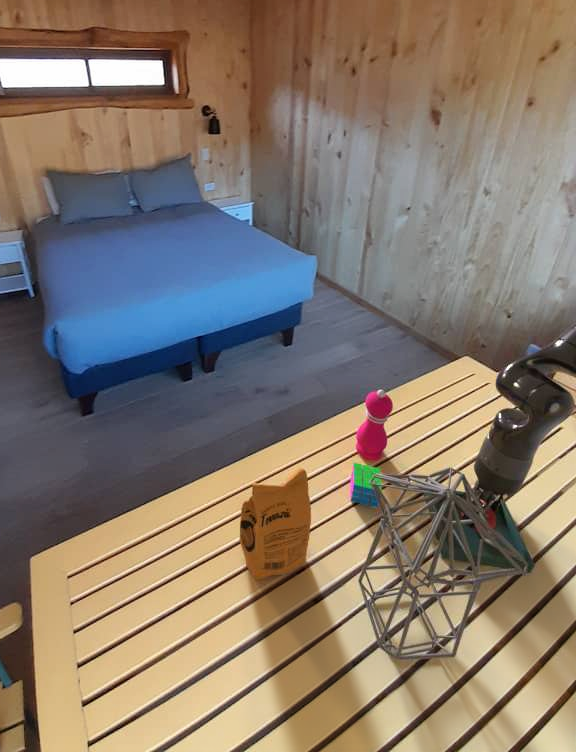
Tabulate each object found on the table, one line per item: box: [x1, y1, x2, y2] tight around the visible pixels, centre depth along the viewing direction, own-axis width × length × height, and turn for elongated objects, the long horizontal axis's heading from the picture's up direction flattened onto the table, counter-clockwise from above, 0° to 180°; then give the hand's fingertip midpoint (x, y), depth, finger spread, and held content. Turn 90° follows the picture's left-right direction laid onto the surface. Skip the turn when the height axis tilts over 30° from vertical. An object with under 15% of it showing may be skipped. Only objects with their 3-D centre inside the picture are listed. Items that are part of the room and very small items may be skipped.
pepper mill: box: [355, 389, 394, 462], centre depth 97 cm, size 7×7×20 cm
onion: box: [462, 499, 496, 532], centre depth 81 cm, size 6×6×8 cm
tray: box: [422, 489, 536, 574], centre depth 83 cm, size 16×14×3 cm
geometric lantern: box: [357, 466, 528, 662], centre depth 62 cm, size 16×16×35 cm
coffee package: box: [239, 467, 312, 581], centre depth 76 cm, size 10×12×22 cm
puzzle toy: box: [350, 462, 383, 509], centre depth 90 cm, size 6×6×6 cm
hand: (478, 516), depth 81 cm, fingers closed on onion, 6 cm apart
